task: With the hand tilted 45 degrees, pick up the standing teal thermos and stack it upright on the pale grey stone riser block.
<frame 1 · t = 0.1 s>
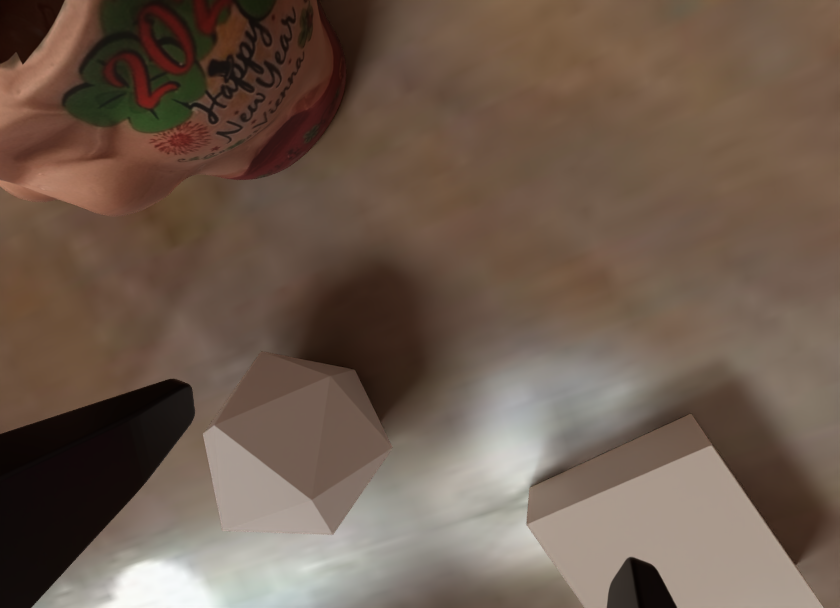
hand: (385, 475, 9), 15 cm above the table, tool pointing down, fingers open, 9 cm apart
die: (332, 406, 28), on the table
riser: (654, 524, 23), on the table
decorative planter: (279, 50, 24), on the table
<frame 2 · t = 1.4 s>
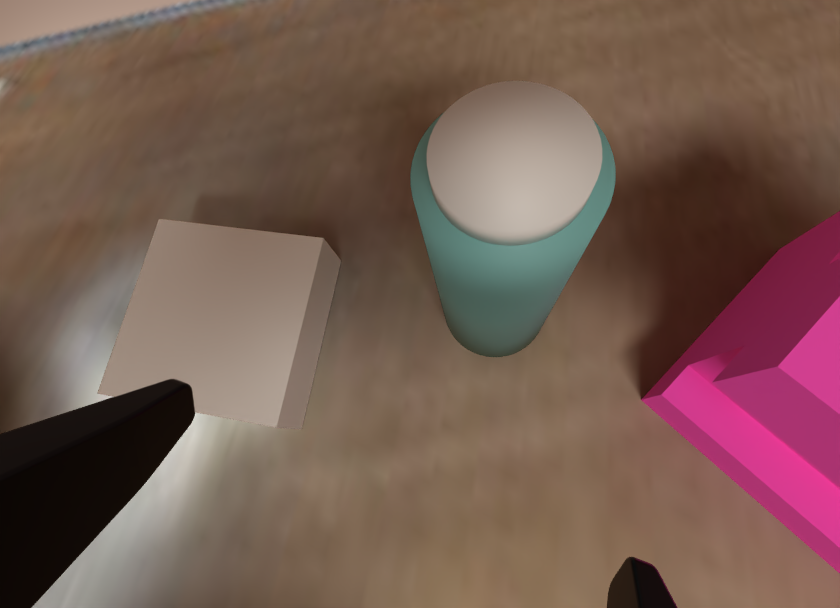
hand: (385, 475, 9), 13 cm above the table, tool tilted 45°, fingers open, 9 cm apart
thermos: (493, 308, 23), on the table
bracket: (826, 415, 20), on the table
riser: (243, 328, 25), on the table
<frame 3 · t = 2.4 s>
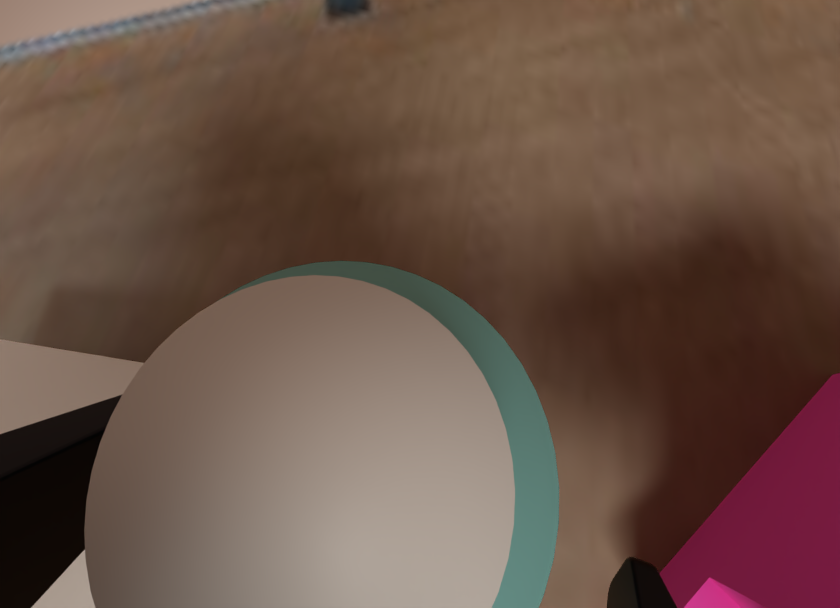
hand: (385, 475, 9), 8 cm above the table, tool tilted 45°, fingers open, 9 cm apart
thermos: (429, 458, 17), on the table
riser: (90, 478, 18), on the table
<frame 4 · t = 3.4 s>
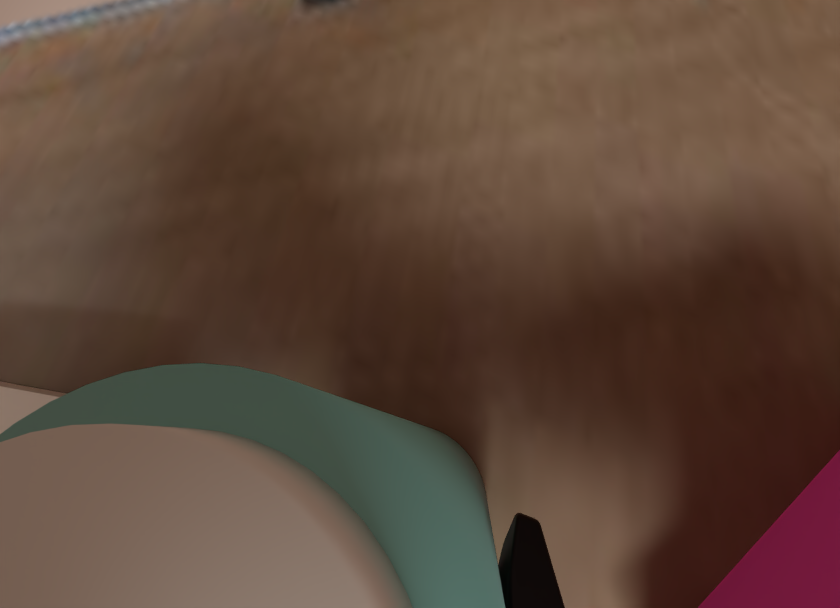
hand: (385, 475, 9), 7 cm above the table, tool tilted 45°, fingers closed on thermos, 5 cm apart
thermos: (408, 504, 15), on the table, touching gripper
riser: (32, 524, 16), on the table
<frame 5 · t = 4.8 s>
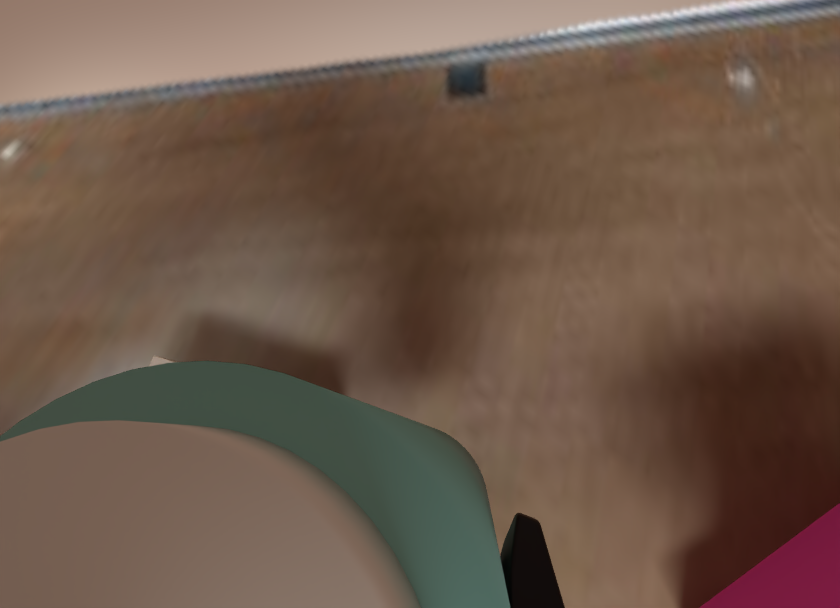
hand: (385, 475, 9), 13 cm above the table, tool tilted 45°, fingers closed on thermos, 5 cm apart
thermos: (410, 504, 15), point 7 cm above the table, touching gripper
when the fingers open (10 cm above the table, at t = 6.4 s): thermos stays where it is, resting on riser.
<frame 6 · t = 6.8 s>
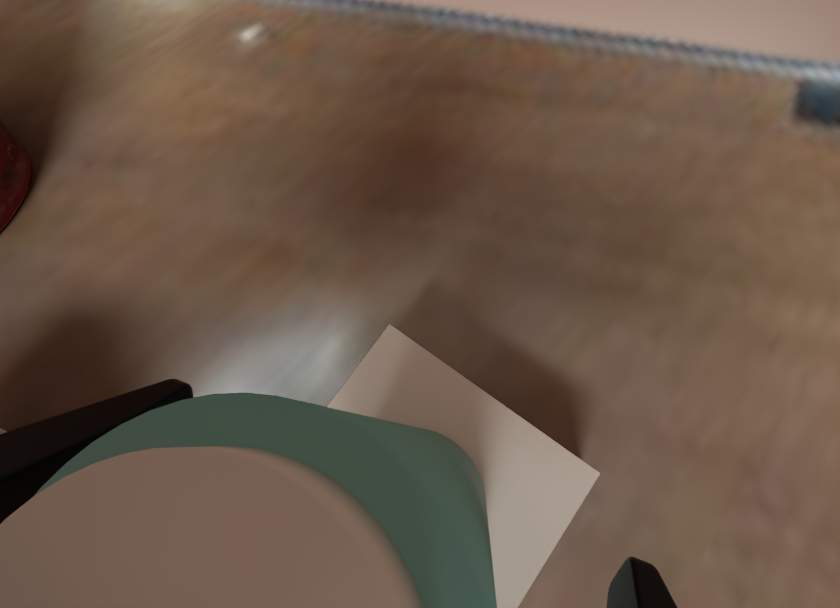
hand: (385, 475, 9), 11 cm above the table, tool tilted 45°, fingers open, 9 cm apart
thermos: (412, 503, 16), point 3 cm above the table, touching riser
riser: (422, 492, 19), on the table
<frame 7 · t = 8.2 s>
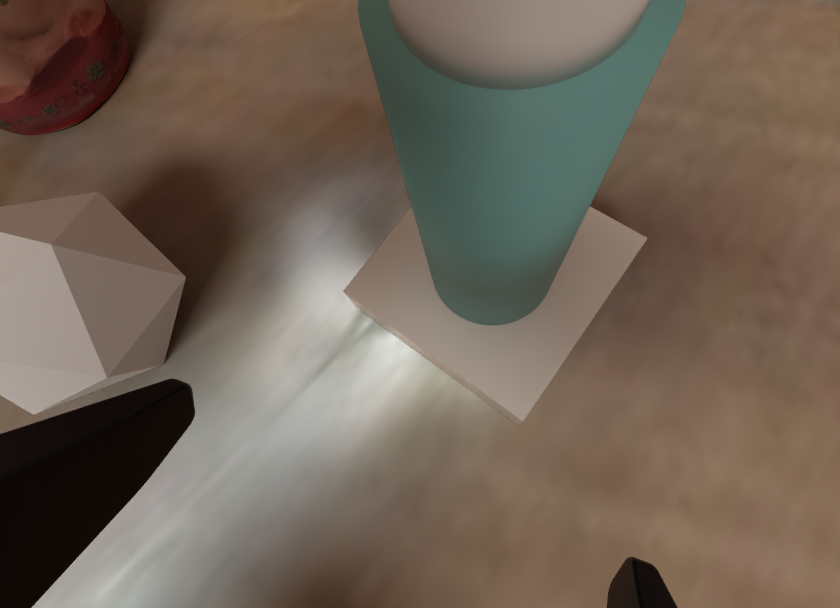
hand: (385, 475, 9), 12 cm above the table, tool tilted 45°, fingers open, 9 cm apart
die: (134, 324, 24), on the table
thermos: (491, 266, 19), point 3 cm above the table, touching riser
riser: (489, 288, 22), on the table
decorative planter: (77, 57, 30), on the table
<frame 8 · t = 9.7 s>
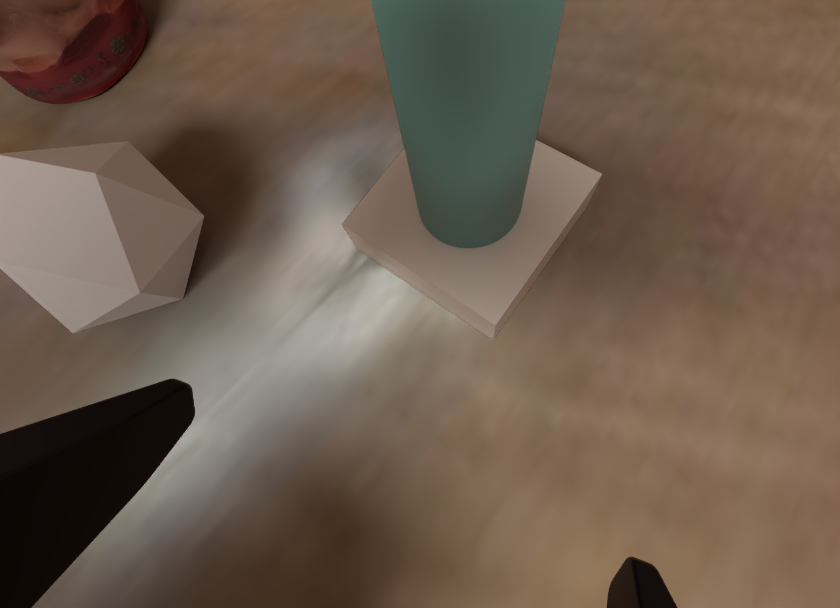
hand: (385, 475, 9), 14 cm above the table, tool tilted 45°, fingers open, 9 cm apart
die: (156, 266, 27), on the table
thermos: (469, 200, 22), point 3 cm above the table, touching riser
riser: (470, 227, 25), on the table
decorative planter: (99, 36, 33), on the table
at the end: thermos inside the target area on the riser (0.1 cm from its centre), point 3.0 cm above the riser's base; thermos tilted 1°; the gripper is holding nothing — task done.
